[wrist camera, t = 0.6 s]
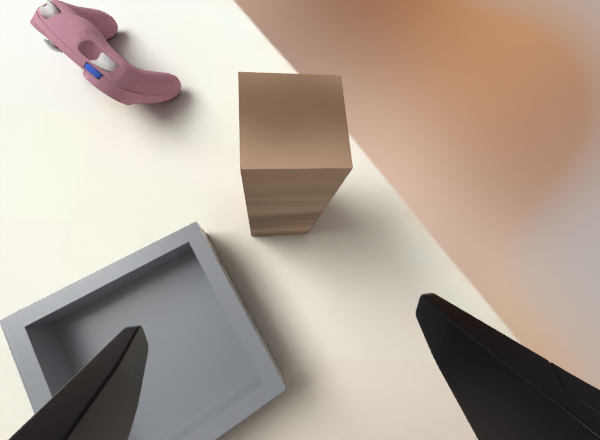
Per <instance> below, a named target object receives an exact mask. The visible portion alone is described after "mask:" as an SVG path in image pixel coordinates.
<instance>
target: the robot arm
mask: <svg viewBox="0 0 600 440" xmlns="http://www.w3.org/2000/svg"><path fill="white" fill-rule="evenodd" d="M416 317H417V320H418V322H419V325H420V327H421V329H422V332H423V334H424V336H425V339H426V341H427V343H428V346H429V348H430V350H431V353H432V355H433V357H434V359H435V361H436V363H437V365H438V367H439V369H440V371H441V372H442V374H443V376H444V378H445V380H446V382H447V383H448V385H449V387H450V389H451V391H452V392H453V394H454V396H455V398H456V400H457V402H458V403H459V405H460V407H461V409H462V411H463V413H464V414H465V416H466V418H467V420H468V422H469V423H470V425H471V427H472V429H473V431H474V433H475V434H476V436H477V438H478V440H600V390H599V389H597V388H595V387H593V386H591V385H590V384H588V383H586V382H584V381H582V380H581V379H579V378H577V377H575V376H573V375H572V374H570V373H568V372H566V371H565V370H563V369H562V368H560V367H558V366H557V365H555V364H553V363H549V361H548V360H546V359H545V358H543V357H541V356H539V355H538V354H536V353H534V352H533V351H531V350H529V349H528V348H526V347H524V346H523V345H521V344H519V343H517V342H516V341H514V340H512V339H511V338H509V337H507V336H506V335H504V334H502V333H500V332H499V331H497V330H495V329H494V328H492V327H490V326H489V325H487V324H485V323H483V322H482V321H480V320H478V319H477V318H475V317H473V316H472V315H470V314H468V313H466V312H465V311H463V310H461V309H460V308H458V307H456V306H455V305H453V304H451V303H450V302H448V301H446V300H444V299H443V298H441V297H439V296H438V295H436V294H434V293H428V294H422V295H421V296H420V299H419V302H418V306H417V309H416ZM147 355H148V342H147V339H146V336H145V333H144V330H143V327H142V326H141V325H136V326H128V327H125V328H124V329H123V330H122V331H121V332H120V333H119V334H118V335H116V336H115V337H114V338H113V339H112V340H111V341H110V342H109V343H108V344H107V345H106V346H105V347H104V348H103V349H102V350H101V351H100V352H99V353H98V354H97V355H96V356H95V357H94V358H93V359H92V360H91V361H90V362H89V363H87V364H86V365H85V366H84V367H83V368H82V369H81V370H80V371H79V372H78V373H77V374H76V375H75V376H74V377H73V378H72V379H71V380H70V381H69V382H68V383H67V384H66V385H65V386H64V387H63V388H62V389H61V390H59V391H58V392H57V393H56V394H55V395H54V396H53V397H52V398H51V399H50V400H49V401H48V402H47V403H46V404H45V405H44V406H43V407H42V408H41V409H40V410H39V411H38V412H37V413H36V414H35V415H34V416H33V417H31V418H30V419H29V420H28V421H27V422H26V423H25V424H24V425H23V426H22V427H21V428H20V429H19V430H18V431H17V432H16V433H15V434H14V435H13V436H12V437H11V438H10V439H9V440H128V438H129V434H130V431H131V428H132V424H133V421H134V418H135V414H136V411H137V407H138V403H139V398H140V393H141V388H142V382H143V377H144V371H145V366H146V361H147Z"/></svg>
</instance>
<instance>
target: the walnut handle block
mask: <svg viewBox="0 0 600 440" xmlns="http://www.w3.org/2000/svg"><path fill="white" fill-rule="evenodd" d="M238 79H239V127H240V170H241V176H242V182H243V188H244V194H245V200H246V206H247V212H248V218H249V224H250V230H251V236H267V235H290V234H307V233H308V231H309V230H310V229H311V227H312V226H313V224H314V223H315V221H316V220H317V219H318V217H319V216H320V214H321V213H322V211H323V210H324V209H325V207H326V206H327V204H328V203H329V201H330V200H331V198H332V197H333V196H334V194H335V193H336V191H337V190H338V188H339V187H340V186H341V184H342V183H343V181H344V180H345V178H346V177H347V176H348V174H349V173H350V171H351V170H352V168H353V166H352V158H351V151H350V143H349V135H348V127H347V120H346V112H345V104H344V96H343V88H342V81H341V76H338V75H337V76H336V75H309V74H282V73H254V72H238Z"/></svg>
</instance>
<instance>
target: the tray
mask: <svg viewBox="0 0 600 440" xmlns="http://www.w3.org/2000/svg"><path fill="white" fill-rule="evenodd" d="M0 324H1V327H2V330H3V332H4V335H5V337H6V340H7V343H8V345H9V348H10V350H11V353H12V356H13V358H14V361H15V364H16V366H17V369H18V371H19V374H20V377H21V379H22V382H23V384H24V387H25V390H26V392H27V395H28V397H29V400H30V403H31V405H32V408H33V411H34V413H35V414H36V413H37V412H38V411H39V410H40V409H41V408H42V407H43V406H44V405H45V404H46V403H47V402H48V401H49V400H50V399H51V398H52V397H53V396H54V395H55V394H56V393H57V392H58V391H59V390H61V389H62V388H63V387H64V386H65V385H66V384H67V383H68V382H69V381H70V380H71V379H72V378H73V377H74V376H75V375H76V374H77V373H78V372H79V371H80V370H81V369H82V368H83V367H84V366H85V365H86V364H87V363H89V362H90V361H91V360H92V359H93V358H94V357H95V356H96V355H97V354H98V353H99V352H100V351H101V350H102V349H103V348H104V347H105V346H106V345H107V344H108V343H109V342H110V341H111V340H112V339H113V338H114V337H115V336H116V335H118V334H119V333H120V332H121V331H122V330H123V329H124V328H125V327H128V326H136V325H141V326H142V327H143V330H144V333H145V336H146V339H147V342H148V355H147V361H146V366H145V371H144V377H143V382H142V388H141V393H140V398H139V403H138V407H137V411H136V414H135V418H134V421H133V424H132V428H131V431H130V434H129V438H128V440H216V439H217V438H219V437H220V436H221V435H223V434H224V433H226V432H227V431H228V430H230V429H231V428H233V427H234V426H236V425H237V424H238V423H240V422H241V421H243V420H244V419H245V418H247V417H248V416H250V415H251V414H252V413H254V412H255V411H257V410H258V409H259V408H261V407H262V406H264V405H265V404H266V403H268V402H269V401H271V400H272V399H274V398H275V397H276V396H278V395H279V394H281V393H282V392H283V391H285V390H286V386H285V383H284V379H283V375H282V373H281V371H280V369H279V367H278V366H277V364H276V362H275V360H274V358H273V356H272V355H271V353H270V351H269V349H268V347H267V345H266V343H265V342H264V340H263V338H262V336H261V334H260V332H259V331H258V329H257V327H256V325H255V323H254V321H253V319H252V318H251V316H250V314H249V312H248V310H247V308H246V306H245V305H244V303H243V301H242V299H241V297H240V295H239V294H238V292H237V290H236V288H235V286H234V284H233V282H232V281H231V279H230V277H229V275H228V273H227V271H226V269H225V268H224V266H223V264H222V262H221V260H220V258H219V257H218V255H217V253H216V251H215V249H214V247H213V245H212V244H211V242H210V240H209V238H208V236H207V234H206V233H205V231H204V230H203V229H202V228H201V227H200V226H199V225H198V223H197V222H194V223H192V224H190V225H188V226H186V227H184V228H182V229H180V230H178V231H176V232H174V233H172V234H170V235H168V236H166V237H164V238H162V239H160V240H158V241H156V242H154V243H152V244H150V245H148V246H146V247H145V248H143V249H141V250H139V251H137V252H135V253H133V254H131V255H129V256H127V257H125V258H123V259H121V260H119V261H117V262H115V263H113V264H111V265H109V266H107V267H105V268H103V269H101V270H99V271H97V272H95V273H93V274H91V275H89V276H87V277H85V278H83V279H81V280H79V281H77V282H75V283H73V284H71V285H69V286H67V287H65V288H63V289H61V290H59V291H57V292H55V293H53V294H51V295H49V296H47V297H45V298H43V299H41V300H39V301H37V302H35V303H33V304H31V305H29V306H27V307H25V308H24V309H22V310H20V311H18V312H16V313H14V314H12V315H10V316H8V317H6V318H4V319H2V320H0Z"/></svg>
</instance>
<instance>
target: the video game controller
mask: <svg viewBox="0 0 600 440" xmlns="http://www.w3.org/2000/svg"><path fill="white" fill-rule="evenodd" d="M30 22H31V24H32V25H33V27H35V28H36V29H37V30H38V31H39V32H41V33H42V34H43V35H44V36H46V37H47V38H48V40H46V39H44V41H45V43H46V44H47V45H48V46H49V47H50V48H51V49H53V50H54V51H57V52H61V53H62V52H63V53H65V54H66V55H67V56H68V57H69V58H70V59H72V60H73V61H74V62H75V63H76V64H77V65H79V66H80V67H81V68H82V69H83V70H84V72H83V74H84V76H85V78H86V79H87V80H88V81H89V82H90V83H91V84H92V85H94V86H95V87H96V88H98V89H99V90H100V91H102V92H103V93H105V94H106V95H108V96H110V97H111V98H113V99H115V100H117V101H119V102H121V103H123V104H126V105H131V104H133V103H159V102H164V101H168V100H170V99H172V98H174V97H176V96H177V95H178V94H179V93H180V90H181V83H180V81H179V79H178V78H177V77H176V76H174V75H171V74H169V73H162V72H151V71H144V70H140V69H137V68H135V67H133V66H131V65H130V64H129V63H128V62H127V61H126V60H125V59H124V58H123V57H122V56H121V55H120V54H119V53H118V52H117V51H116V50H114V49H113V48H112V47H111V46H110V45H109V44H108V42H107V41H106V40H107V39H110V38H112V37H113V36H114V35H115V34H117V30H118V26H117V23H116V21H115V20H114V19H113V18H112V17H111V16H110V15H108V14H106V13H105V12H102V11H100V10H96V9H90V8H83V7H77V6H74V5H70V4H67V3H65V2H62V1H58V0H52V1H50V0H47V3H46V4H44V5H43V6H41V7H39V8H38V9H37V11H36V13H35V14H34V16H33V18H32V19H31V21H30Z"/></svg>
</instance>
